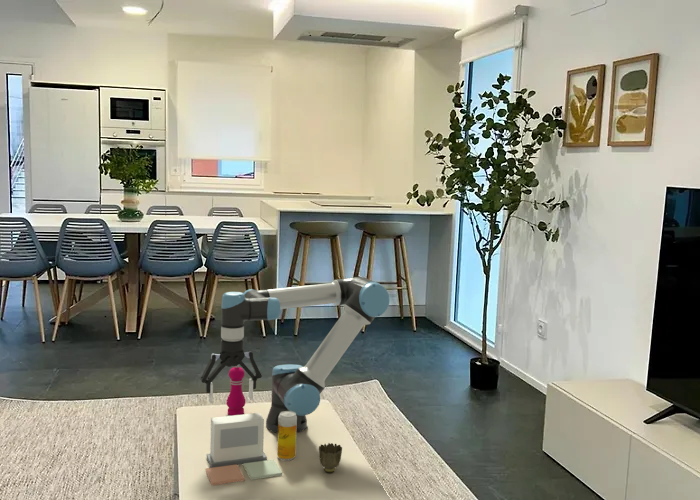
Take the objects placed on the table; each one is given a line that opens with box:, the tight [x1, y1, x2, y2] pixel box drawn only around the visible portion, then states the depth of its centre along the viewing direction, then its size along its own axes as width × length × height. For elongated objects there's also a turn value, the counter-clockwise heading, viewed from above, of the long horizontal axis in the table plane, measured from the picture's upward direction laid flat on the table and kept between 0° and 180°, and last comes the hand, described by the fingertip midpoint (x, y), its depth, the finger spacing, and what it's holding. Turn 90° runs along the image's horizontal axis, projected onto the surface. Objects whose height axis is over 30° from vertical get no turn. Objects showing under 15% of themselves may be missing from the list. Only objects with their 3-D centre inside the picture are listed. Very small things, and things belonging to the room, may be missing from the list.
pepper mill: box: [226, 364, 246, 416], centre depth 254 cm, size 7×7×20 cm
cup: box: [318, 442, 343, 474], centre depth 208 cm, size 8×7×8 cm
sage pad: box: [242, 459, 283, 481], centre depth 207 cm, size 10×10×1 cm
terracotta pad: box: [204, 464, 245, 486], centre depth 203 cm, size 10×10×1 cm
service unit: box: [206, 412, 268, 468], centre depth 213 cm, size 18×8×14 cm, turn 113°
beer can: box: [276, 411, 297, 462], centre depth 217 cm, size 6×6×15 cm
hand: (231, 400), depth 222 cm, fingers open, 13 cm apart
